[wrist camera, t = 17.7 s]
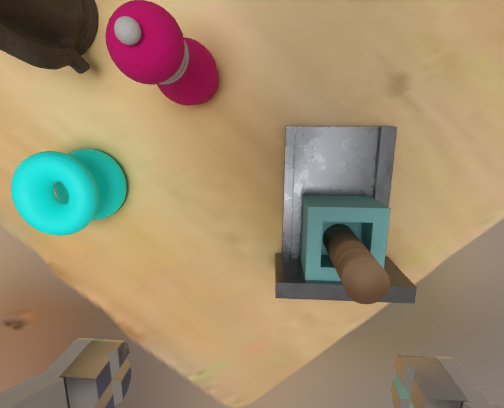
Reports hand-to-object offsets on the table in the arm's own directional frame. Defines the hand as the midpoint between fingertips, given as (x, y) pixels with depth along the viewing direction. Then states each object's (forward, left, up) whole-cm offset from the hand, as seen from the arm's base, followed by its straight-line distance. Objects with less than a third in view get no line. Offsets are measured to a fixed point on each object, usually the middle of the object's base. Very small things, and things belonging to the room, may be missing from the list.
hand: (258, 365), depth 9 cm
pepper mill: (-14, -10, -34) cm, 38 cm away
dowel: (+6, +9, -30) cm, 32 cm away
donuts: (0, -25, -34) cm, 42 cm away
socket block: (+6, +9, -33) cm, 35 cm away
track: (+2, +9, -34) cm, 35 cm away
